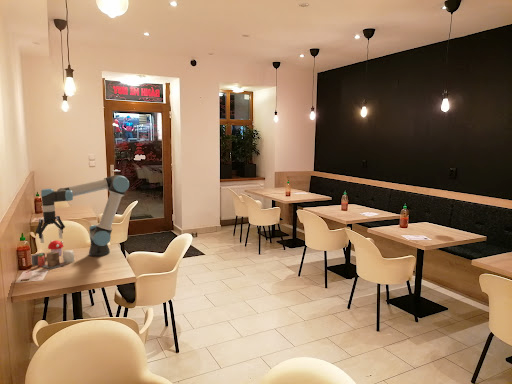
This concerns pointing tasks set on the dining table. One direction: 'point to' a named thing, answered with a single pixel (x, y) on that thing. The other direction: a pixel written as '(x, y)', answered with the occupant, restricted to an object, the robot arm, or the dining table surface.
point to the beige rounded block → (68, 256)
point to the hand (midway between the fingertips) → (51, 240)
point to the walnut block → (53, 259)
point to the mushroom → (56, 246)
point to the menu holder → (36, 258)
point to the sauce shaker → (41, 260)
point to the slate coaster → (53, 266)
